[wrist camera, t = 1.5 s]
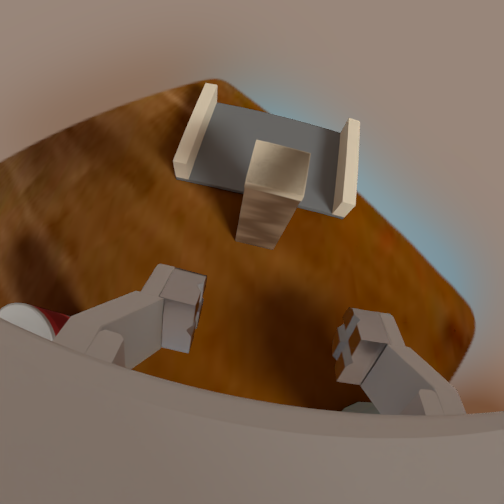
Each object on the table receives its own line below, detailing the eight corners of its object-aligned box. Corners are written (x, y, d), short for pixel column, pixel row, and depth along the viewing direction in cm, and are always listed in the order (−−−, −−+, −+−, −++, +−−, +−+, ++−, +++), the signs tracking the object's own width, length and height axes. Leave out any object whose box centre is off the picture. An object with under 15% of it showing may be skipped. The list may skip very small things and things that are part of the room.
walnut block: (234, 241, 37) (245, 182, 24) (242, 209, 38) (256, 139, 25) (273, 250, 37) (303, 196, 24) (279, 218, 39) (310, 153, 25)
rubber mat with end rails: (176, 179, 39) (172, 161, 35) (205, 103, 42) (205, 83, 38) (342, 219, 39) (355, 205, 35) (349, 138, 43) (359, 121, 39)
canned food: (37, 320, 32) (-18, 307, 21) (93, 310, 33) (48, 295, 23) (47, 383, 30) (-6, 391, 19) (105, 377, 31) (62, 388, 21)
